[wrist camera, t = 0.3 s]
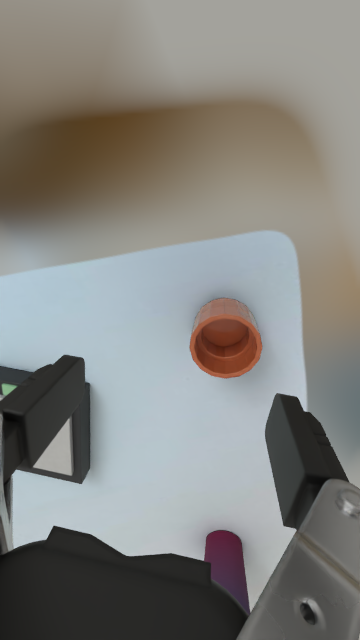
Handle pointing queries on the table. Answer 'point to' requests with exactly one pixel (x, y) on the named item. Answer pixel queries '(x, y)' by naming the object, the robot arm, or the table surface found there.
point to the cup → (228, 564)
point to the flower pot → (225, 339)
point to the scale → (59, 436)
